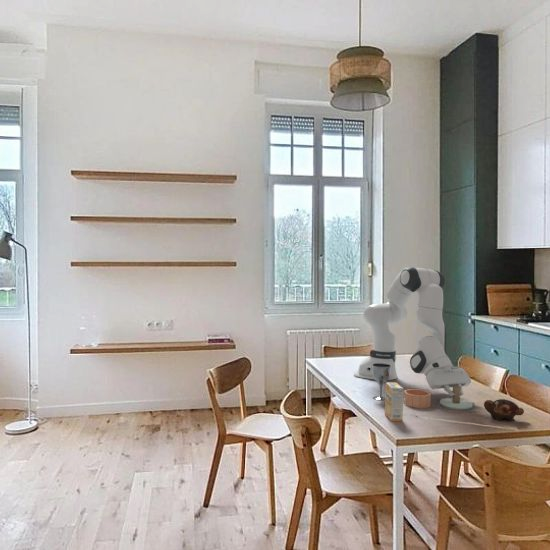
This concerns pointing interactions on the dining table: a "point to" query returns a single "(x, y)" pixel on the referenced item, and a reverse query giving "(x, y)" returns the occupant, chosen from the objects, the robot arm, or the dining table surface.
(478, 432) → the dining table surface
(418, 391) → the bowl
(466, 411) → the mat
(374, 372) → the wine glass
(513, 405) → the decorative turtle
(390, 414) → the supplement box
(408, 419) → the dining table surface
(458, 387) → the lid
